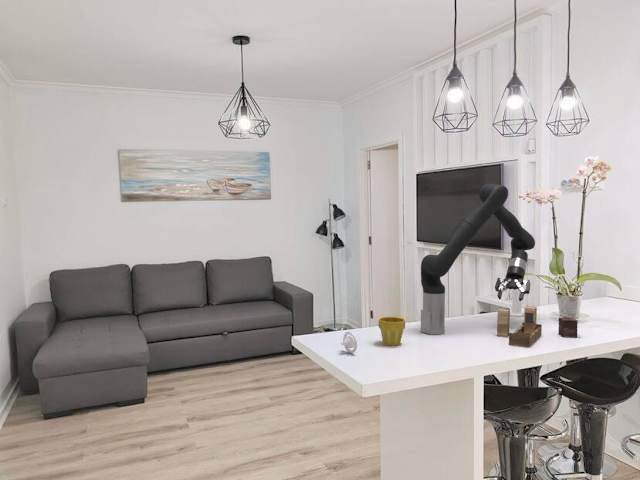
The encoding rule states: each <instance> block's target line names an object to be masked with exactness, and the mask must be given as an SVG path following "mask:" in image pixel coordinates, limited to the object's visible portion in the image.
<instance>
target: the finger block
mask: <svg viewBox="0 0 640 480" xmlns="http://www.w3.org/2000/svg"><path fill="white" fill-rule="evenodd" d="M510 313H511V309H507V308H499V309H497V323H496V324H497V326H496V329H497V330H496V337H502V338H509V333H511V332H510V325H511V324H510V322H511V321H510V320H511V316H510Z"/></svg>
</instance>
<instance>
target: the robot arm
mask: <svg viewBox="0 0 640 480" xmlns="http://www.w3.org/2000/svg"><path fill="white" fill-rule="evenodd" d="M508 196H509V190H508V187H506V185H505V186H504V185H502V184H496V183H485V184H483V185H482V186H481V187H480V188H479V190H478V197H479V200H480V201H481V202H482V204H481V205H480V206H478V207H477V208H475V209H474V210H472V211H470V212H468V213H467V214H465V215H463V216H462V217H461V218H460V219H459V220H458V222H456V224H455V225H454V227H453V228H452V229H451V231H450V234H449V238H448V241H447V243H446V245H445V247H444V248H443V249H442V250H441V251H440V252H439V253H438V254H437V255H436V254H427V255H425V256H424V257H423V258H422V260H421V264H420V281H421V286H422V309H421V310H420V332H421V333H424V334H427V335H443V334H445V332H446V331H445V328H446V327H445V325H446V321H445V320H446V319H445V318H446V317H445V316H446V314H445V313H446V286H445V285H444V284H443V283H442V280H441V278H442V277H444V276H445V275H446V274H448V272H449V271H450V269H451V268H452V266H453V265H454V263H455V261H456V260H457V259H458V257H459V255H460V254H461V253H462V252H464V250H465V248H466V247H467V246H468V244H469V243H470V242H471V241H472V240H473V239H474V237H476V235H477V234H478V233H479V231H480V230H481V228H482V227H484V225H485V224H486V223H487V222H488V221H489V219H490V218H491V217H492V216H494V217H495V218H496V219H497V220H498V222H499V223H500V225H501V226H502V228H503V229H504V231H505V232H506V234H507V235H508V236H509V238H511V240H510V248H511V249H510V250H511V256H510V259H509V262H508V265H507V270H506V275H505V277H504V279H502V278H500V277H497V279H496V282H495V285H494V290H495V292H497V295H496V296H497V298H498V300H502V295H503V292H504V291H505V292H506V291H507V290H512V289H514V290H516V289H518V290H519V291H520V295H519V301H521V300H522V301H523V300H524V298H525V295H529V294H530V291H531V280H530V279H527V280H524V279H525V275H526V271H527V262H528V258H529V254H528V252H526V251H531V250H533V249H534V248H535V246H536V240H535V238H534V237H533V235H532V234H531V233H530V232H528V230H526V229H525V228H523V226H522V225H521V224H522V223H520V221H519V220H518V218H517V217H516V216H515V215H514V214H513V213H512V212H511V211H510V210H508V209H507V208H506V207H505V206H504V204H505V202H506V201H507V199H508ZM523 286H525V289H524V288H523Z"/></svg>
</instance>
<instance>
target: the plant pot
mask: <svg viewBox="0 0 640 480" xmlns="http://www.w3.org/2000/svg"><path fill="white" fill-rule="evenodd" d="M378 328H379V330H380V335H381V339H382V344H383V345H384V346H388V347H389V346H390V347H396V346H400V345H401V341H402V337H403V333H404V330H405V329H406V319H405V318H403V317H399V316H398V317H397V316H383V317H379V318H378Z"/></svg>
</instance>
